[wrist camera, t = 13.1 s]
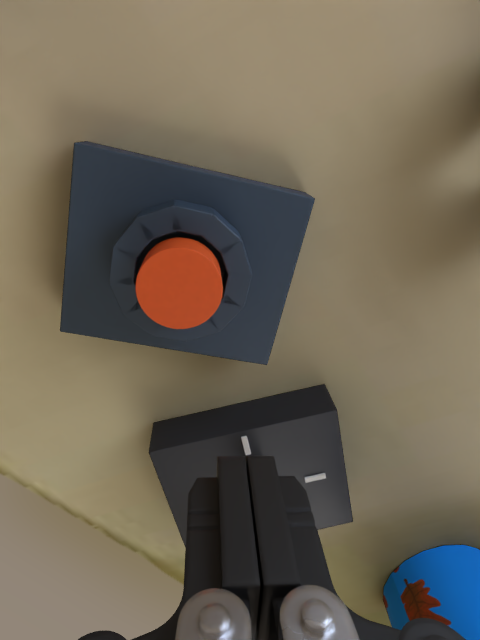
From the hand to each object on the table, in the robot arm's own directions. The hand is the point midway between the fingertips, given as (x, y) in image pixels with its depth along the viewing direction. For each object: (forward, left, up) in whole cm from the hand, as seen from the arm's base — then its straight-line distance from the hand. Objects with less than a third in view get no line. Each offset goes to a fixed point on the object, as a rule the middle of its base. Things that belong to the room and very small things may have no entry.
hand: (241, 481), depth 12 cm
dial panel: (-3, +13, -16) cm, 21 cm away
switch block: (+2, -2, -16) cm, 16 cm away
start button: (+2, -2, -12) cm, 13 cm away
